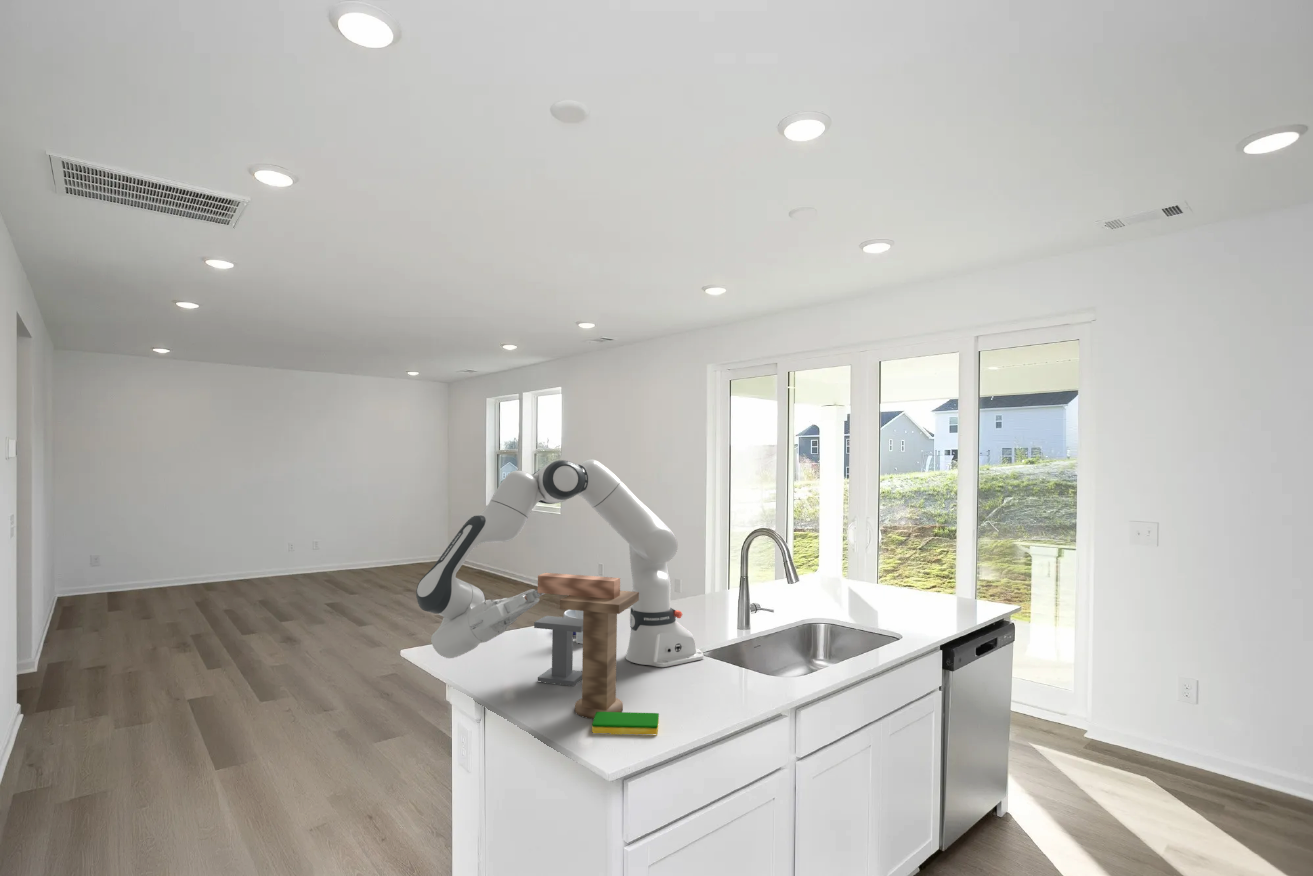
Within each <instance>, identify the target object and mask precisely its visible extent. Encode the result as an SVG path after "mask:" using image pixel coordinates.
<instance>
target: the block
mask: <svg viewBox="0 0 1313 876" xmlns="http://www.w3.org/2000/svg"><path fill="white" fill-rule="evenodd" d="M537 589H538V593H545V594H550V595H561V596H569V595H571V596H584V597H596V598H608V599H615V598H616V597H618V596H620V591H621V578H620V577H608V576H598V575H597V576H596V575H585V574H584V575H582V574H569V573H554V572H543V573H541V574H537Z"/></svg>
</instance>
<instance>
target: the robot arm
mask: <svg viewBox="0 0 1313 876" xmlns="http://www.w3.org/2000/svg"><path fill="white" fill-rule="evenodd" d="M576 496H579V497H581V498H582V499H584V500H585V501H586V502H587V503H588V504H589V506H591V508H592V509H594V510H595V512H596V513H598V515H600V517H602V519H603V520H604V521H605V522H606V523H607V524H608V525H609V527H611V528H612V529H613V530H614V531H615V532H616V533H617V534H618V535H619V536H620V537H621V538H622V539H624V540H625V541H626V543H628V547H629V559H630V560H629V561H630V570H631V584H632V586H631V590H632V592H639V601H637V602H636V603H634V604H633V605H631V607H630V613H629V626H630V635H629V642H628V646H627V647H628V648H627V651H626V654H625V659H626V660H627V661H629V662H630V663H635V664H639V665H646V666H653V667H657V668H667V667H670V666H676V665H681V664H685V663H690V662H694V661H701V660H703V659H704V653H703V651H702V650H701V649H699V648H698V647H697V646H696V645H697V644H696V639H695V637H694V635H693V633H692V632H691V631H690V630H688V629H687V628H686V627H684V626H683V625H682V624H681V623H680V622H678V621H677V620H676V618H677V619H682V617H683V612H682V611H680V610H678V609H674V608H672V607H671V586H672V585H671V581H672V580H671V578H670V574H669V567H668V562H670V561H672V559H674V557H675V556H676V554H677V552H678V549H679V548H678V546H679V545H678V539H677V538H676V537H677V536H676V535H675V534H674V532H673V530H672V529H670V527H669V526H668V525H667V524H666V523H665V522H663V520H661V519H660V518H659V517H658V515H656V514H655V513H654V512H653V511H652V510H651V509H650V508H649V507H648V506H647V505H645V503H643V501H642V500H640V499H639V498H638V497H637V496H636V495H635V494H634V492H632V491H631V489H630V488H629V487H628V486H627V485H626V484H625V483H624V482H623V481H622V480H621V479H620V478H619V477H618V476H617V475H616V474H615V473H614V472H613V471H611V470H610V468H608V467H607V466H605V464H603V463H601V462H600V461H598V460H596V459H592V458H591V459H587V460H584V461H583V462H581V463H579V464H578V463H575V462H572V461H568V460H564V459H563V460H562V459H560V460H555V461H553V462H549V463H548V464H546V465H545V464H544V466H543V467H541V468H540V469H538V470H536V472H534V473H532V474H531V473H529V472H527V471H524V470H513V471H511V472H509V473H508V474H507V475H506V476H505V478H504V479H503V480H502V482H501V483H500V484H499V486H498V487H497V488H496V490H495V492H494V494H493V495H492V497H491V499H490V501H489V502H488V504H487V506H486V507H485V508H484V510H482V511H481V512H480V513H479V514H478V515H473V516H471V517H470V518H469V519H467V521H466V522H465V523H464V524H463V525H462V527H460V529H459V531H458V532H457V534H456V535H455V536H454V537H453V538H452V540H451V542H450V543H449V545H448V546H447V547H446V549H445V550H444V552H442V555H440V556H439V558H438V560H436V562H435V563H434V565H433V566H432V567H431V568H430V569H429V570H428V571H427V572H426V574H424V575H423V577H421V579H420V580H419V582H418V584H417V586H416V590H415V595H416V602H417V604H418V607H419V608H420V609H421V610H423V611H425V612H428V613H430V614H431V613H432V614H434V615H435V614H436V615H439V616H441V617H443V618H442V622H441V623H440V626H439V627H438V629H437V630H436V631H434V632H433V634H432V635H431V638H430V640H431V646H432V647H433V649H434V651H435V652H436V653H437V654H438V655H440V657H444V658H446V659H454V658H458V657H461V656H463V655H464V654H468V653H469V652H471V651H472V650H474V649H476V648H478V646H479V645H480V644H483V643H487V642H489V641H491V640H492V639H494V638H496V637H497V636H500V635H502V634H504V632H506V630H507V629H508V628H509V626H510V625H512V624H513V623H514V622H516V621H517V620H518V618H519V617H520V616H522V615H523V614H525V612H527V611H528V610H530V609H532V607H534V606H535V605H537V604H538V603H539V602H540V597H541V596H543V595H545V594H546V593H538V588H537V589H534V588H531V589H528V590H526V591H524V592H523V591H522V592H521V593H518V594H516V595H514V596H510V597H503V598H499V599H486V596H485V593H484V591H483V590H482V589H480V588H479V587H477V586H475V585H474V584H471V583H469V582H467V581H464V580H462V579H460V578H458V577H456V575H457V573H458V572H459V570H460V569H461V567H462V566H463V564H464V563H465V561H466V560H467V558H468V557H469V556H470V554H471V553H472V551H473V550H474V549H475V548H476V547H477V546H479V545H481V544H484V543H506V542H509V541H512V540H514V539H516V538H517V537H518V536H519V535H520V534H521V532H522V531H523V530H524V527H525V526H526V523H527V521H528V519H529V517H530V515H531V514H532V511H533V509H534V508H535V506H536V505H537V504H539V503H541V504H545V505H546V504H547V505H554V504H560V503H563V502H566V501H567V500H570V499H571V498H574V497H576Z"/></svg>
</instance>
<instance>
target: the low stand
mask: <svg viewBox="0 0 1313 876" xmlns="http://www.w3.org/2000/svg"><path fill="white" fill-rule="evenodd" d="M533 628H534V629H540V630H542V629H543V630H552V633H551V634H552V639H551V640H552V643H551V646H552V647H551V667H550V668H548V670H546V671H544V672H543V673H541V674H540V675H539V676H537V682H538V681H541V682H540V683H542V682H546V683H545V684H551V683H555V684H554V685H559V684H561V685H560V686H567V685H570V687H575V686H576V685H577V684H578V683H580V682H581V681H582V680H581V679H582V670H576V669H573V659H574V656H573V653H574V652H573V651H574V647H573V646H574V635H573V632H582V631H583V619H576V618H565V617H564V616H563V617H562V616H553V615H545V616H542V617H541V618H539V619H537V620H536V621H533ZM580 680H581V681H580ZM574 685H575V686H574Z"/></svg>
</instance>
